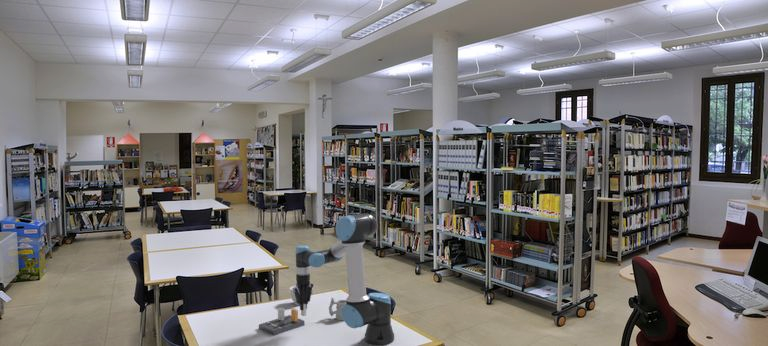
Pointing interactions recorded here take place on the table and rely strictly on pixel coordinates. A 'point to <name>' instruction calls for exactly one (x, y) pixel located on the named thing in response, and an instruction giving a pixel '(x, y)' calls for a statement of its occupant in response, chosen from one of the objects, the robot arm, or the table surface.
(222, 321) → the table surface
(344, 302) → the mug
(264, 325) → the console
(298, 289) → the teacup
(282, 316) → the fader white
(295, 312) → the fader orange
